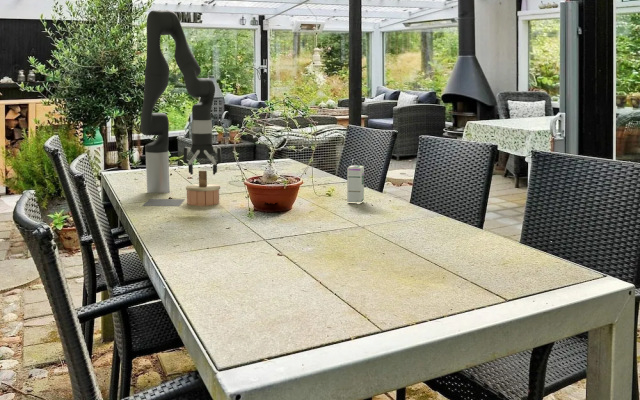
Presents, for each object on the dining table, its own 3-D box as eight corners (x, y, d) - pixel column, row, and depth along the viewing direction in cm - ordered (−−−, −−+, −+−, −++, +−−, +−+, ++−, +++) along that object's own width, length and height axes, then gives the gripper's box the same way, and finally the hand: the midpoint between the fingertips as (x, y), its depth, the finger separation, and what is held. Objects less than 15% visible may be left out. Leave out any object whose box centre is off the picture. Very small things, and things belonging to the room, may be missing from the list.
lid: (188, 185, 254) (188, 168, 252) (221, 185, 254) (221, 168, 253) (183, 191, 241) (182, 173, 240) (218, 191, 241) (217, 173, 240)
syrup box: (361, 204, 250) (362, 167, 248) (346, 203, 251) (347, 166, 249) (363, 201, 256) (364, 165, 253) (349, 201, 257) (349, 165, 254)
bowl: (190, 200, 254) (189, 185, 253) (220, 200, 255) (220, 185, 254) (185, 206, 242) (184, 191, 241) (217, 206, 243) (217, 191, 242)
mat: (149, 200, 254) (149, 199, 254) (185, 200, 255) (185, 199, 255) (141, 207, 241) (141, 206, 241) (179, 207, 241) (179, 206, 241)
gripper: (221, 131, 248) (222, 172, 251) (184, 130, 247) (185, 172, 250) (220, 133, 240) (220, 176, 243) (181, 132, 239) (182, 175, 243)
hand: (202, 174), depth 247 cm, fingers open, 8 cm apart
